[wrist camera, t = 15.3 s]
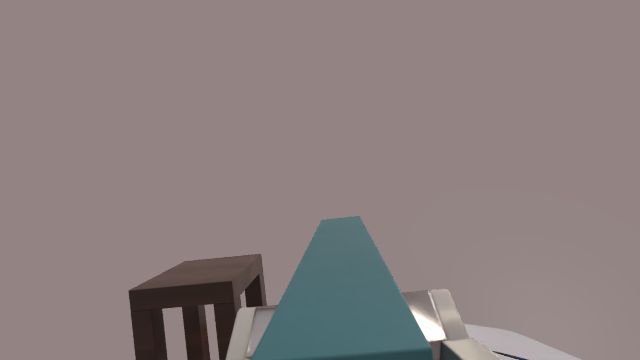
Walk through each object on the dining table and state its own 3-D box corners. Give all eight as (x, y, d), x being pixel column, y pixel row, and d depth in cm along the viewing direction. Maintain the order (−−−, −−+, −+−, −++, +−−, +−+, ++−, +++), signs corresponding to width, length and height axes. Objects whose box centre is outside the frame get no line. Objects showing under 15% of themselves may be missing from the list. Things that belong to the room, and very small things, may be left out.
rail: (455, 539, 6) (432, 347, 6) (266, 549, 6) (246, 362, 6) (364, 254, 28) (359, 215, 28) (325, 258, 28) (321, 220, 28)
